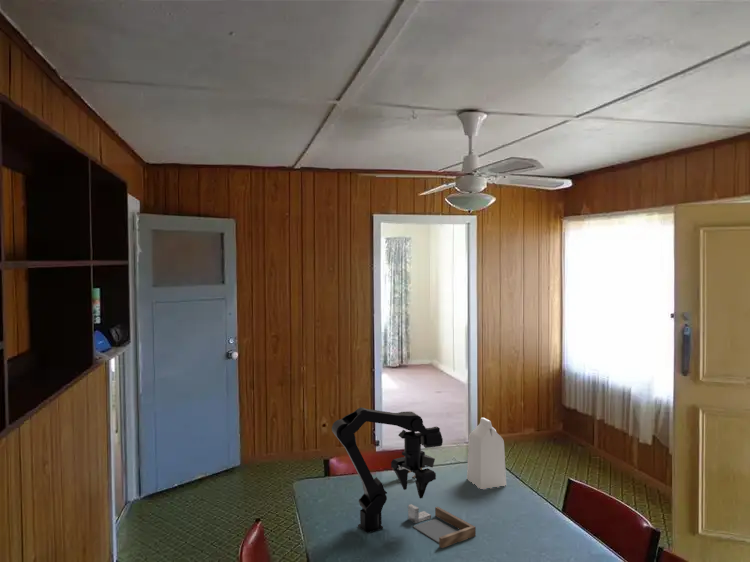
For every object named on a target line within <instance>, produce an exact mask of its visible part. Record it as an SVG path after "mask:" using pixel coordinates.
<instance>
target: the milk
mask: <svg viewBox="0 0 750 562" xmlns="http://www.w3.org/2000/svg"><path fill="white" fill-rule="evenodd" d="M467 447H468V449H467V466H466V467H467V468H466V469H467V472H466V480H467V479H468V482H470V483H471V482H472V483H471V484H473V485H474V484H475V485H476V486H477V487H476V486H475V485H474V486H475V487H476V488H478V489H479V488H480V489H483V490H487V489H486V488H490V489H493V488H492V487H497V488H500V487H499V486H504V487H506V486H507V475H506V473H507V472H506V471H507V470H506V457H505V456H506V454H505V442H504V439H503V436H501V435H500V434H499V433H498V432H497V430H496V428H495V427H493V425H492V421H491V420H489V419H488V418H485V417H481V418H480V420H479V424H478V425H477V426H475V428H474V429H473V430H472V431H471V432H470V433H469V435H468V446H467ZM505 485H506V486H505ZM480 489H479V490H480Z"/></svg>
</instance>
